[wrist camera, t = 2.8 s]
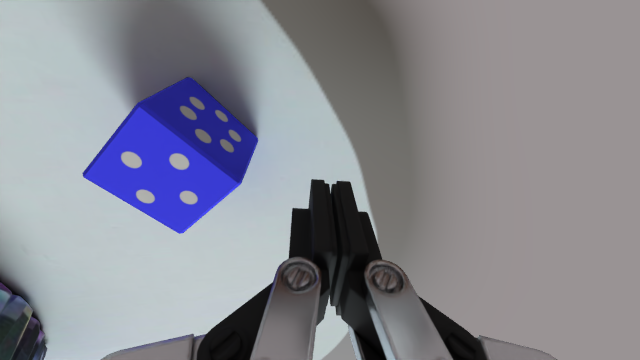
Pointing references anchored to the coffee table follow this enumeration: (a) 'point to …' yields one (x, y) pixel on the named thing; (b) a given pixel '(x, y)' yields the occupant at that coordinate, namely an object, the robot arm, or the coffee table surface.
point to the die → (175, 155)
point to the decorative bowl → (19, 329)
